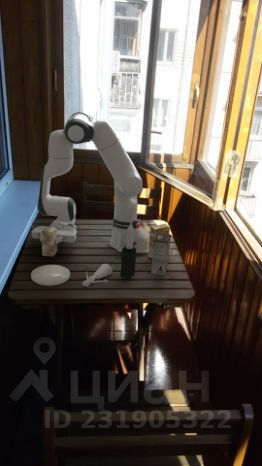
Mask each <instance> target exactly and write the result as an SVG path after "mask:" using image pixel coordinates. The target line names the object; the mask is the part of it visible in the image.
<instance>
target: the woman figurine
mask: <svg viewBox="0 0 262 466" xmlns="http://www.w3.org/2000/svg"><path fill="white" fill-rule="evenodd" d="M113 267H114V265H113V264H111V265H110V263H102V264H101V265H100V267H99V268H98V269H97V270H96V271H95V272H93V274H92V275H89V276H88V271H86V272H85V275H86V277H85V278H86V280H83V281H82V287H84V286H85V287H86V288H87V287H89V286H90V285H91V284H95V283H107V282H108V280H107V279H104V280H100V279H103V278H106V277H108V276H110V275H112V274H113V269H114V268H113Z"/></svg>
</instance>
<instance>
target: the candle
mask: <svg viewBox="0 0 262 466" xmlns="http://www.w3.org/2000/svg"><path fill="white" fill-rule="evenodd" d="M133 240H134V228H133V226H132V222H130V225H129V227H128V229H127V239H126V246H124V248H123V249H122V252H121V261H120V273H119V277H120V278H123V279H126V280H131V279H132V278H133V277H135V271H136V260H137V253H136V248H135V247H134V246H133Z"/></svg>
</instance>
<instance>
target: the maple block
mask: <svg viewBox="0 0 262 466" xmlns="http://www.w3.org/2000/svg"><path fill="white" fill-rule="evenodd" d="M55 239H57V228H54V227H50V226H46V227H45V228H44V229H43V230H42V242H41V244H42V245H41V250H42V251H41V252H42V254H41V255H42V256H43V257H44V256H45V257H53V258H54V257H55V255H56V253H57V252H58V244H55V243H54V240H55Z"/></svg>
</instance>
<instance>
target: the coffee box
mask: <svg viewBox="0 0 262 466" xmlns="http://www.w3.org/2000/svg"><path fill="white" fill-rule="evenodd" d="M171 236H172V235H171V234H170V233H169V234H163V233H157V234H156V237H155V239H154V247H153V257H152V258H151V259H152V260H151V269H150V273H151V274H154V275H159V276H160V275H161V276H166V273H167V267H168V263H169V254H170V245H171Z"/></svg>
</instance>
